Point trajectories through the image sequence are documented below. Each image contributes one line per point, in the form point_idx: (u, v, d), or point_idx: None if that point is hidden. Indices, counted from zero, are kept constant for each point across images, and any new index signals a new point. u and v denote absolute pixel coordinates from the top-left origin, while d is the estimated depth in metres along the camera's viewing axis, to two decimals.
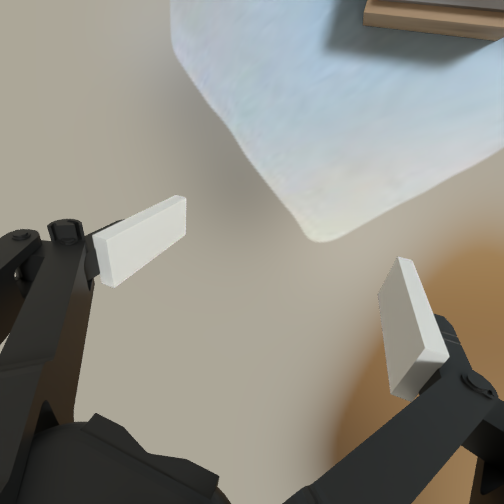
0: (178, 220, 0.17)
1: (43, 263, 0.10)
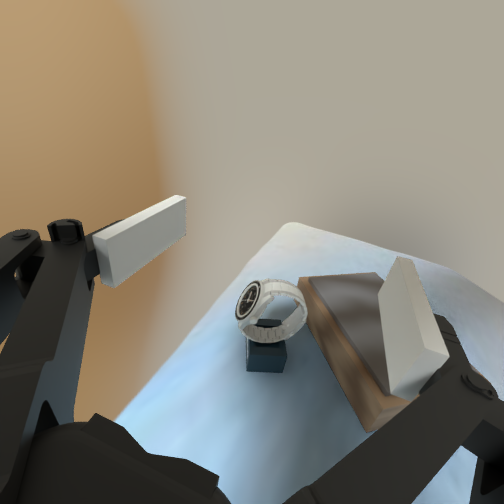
0: (178, 220, 0.17)
1: (43, 263, 0.10)
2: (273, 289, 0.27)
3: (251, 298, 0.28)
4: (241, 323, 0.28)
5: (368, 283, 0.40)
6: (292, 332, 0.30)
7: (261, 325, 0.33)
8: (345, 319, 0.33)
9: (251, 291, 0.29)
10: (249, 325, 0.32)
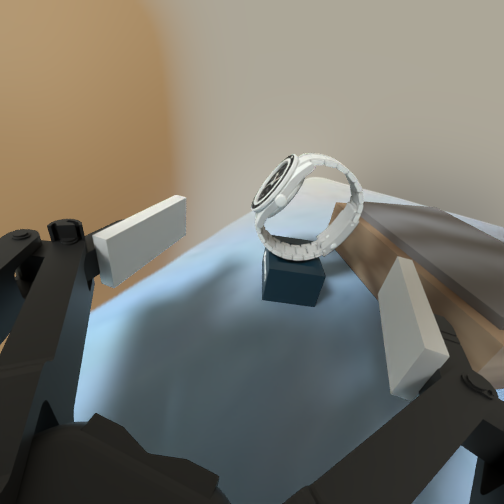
0: (178, 220, 0.17)
1: (43, 263, 0.10)
2: (315, 158, 0.17)
3: (278, 178, 0.19)
4: (260, 214, 0.18)
5: (431, 214, 0.29)
6: (335, 242, 0.20)
7: None
8: (410, 239, 0.22)
9: (277, 173, 0.19)
10: (269, 236, 0.22)
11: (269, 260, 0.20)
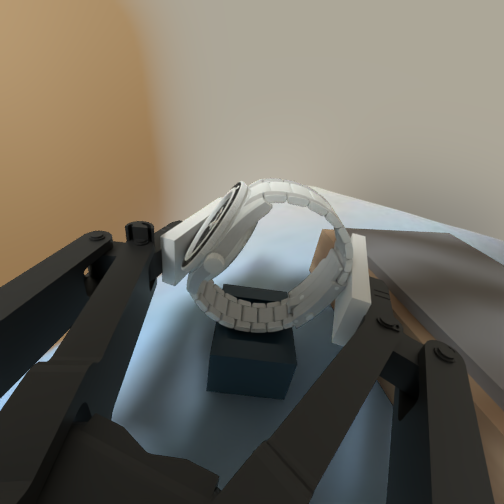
0: None
1: (115, 260, 0.10)
2: (272, 190, 0.11)
3: None
4: (190, 276, 0.12)
5: (444, 245, 0.23)
6: (312, 310, 0.13)
7: (247, 298, 0.17)
8: (421, 296, 0.16)
9: (222, 208, 0.13)
10: (220, 293, 0.15)
11: (214, 336, 0.14)
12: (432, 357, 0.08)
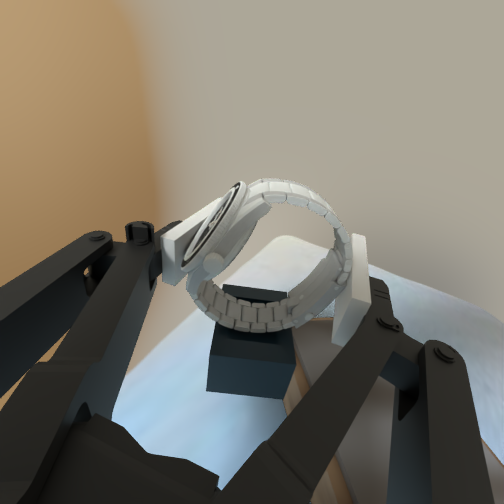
0: None
1: (115, 260, 0.10)
2: (272, 190, 0.11)
3: (218, 219, 0.12)
4: (189, 276, 0.12)
5: None
6: (311, 310, 0.13)
7: (246, 298, 0.17)
8: None
9: (221, 208, 0.13)
10: (219, 293, 0.15)
11: (214, 336, 0.14)
12: (432, 357, 0.08)
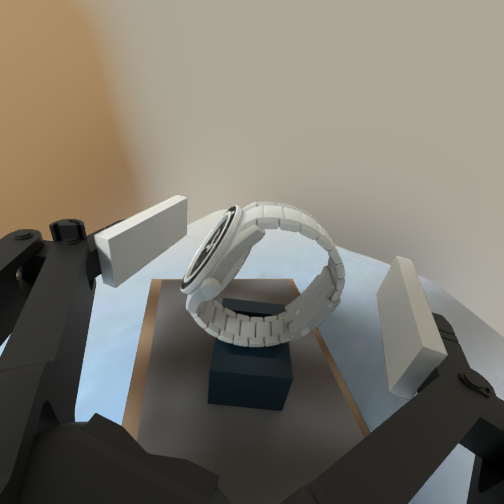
0: (179, 220, 0.17)
1: (45, 263, 0.10)
2: (266, 215, 0.11)
3: (215, 242, 0.12)
4: (189, 297, 0.12)
5: (264, 296, 0.23)
6: (307, 326, 0.14)
7: (245, 312, 0.17)
8: (164, 368, 0.16)
9: (219, 230, 0.13)
10: (219, 309, 0.16)
11: (214, 351, 0.14)
12: None
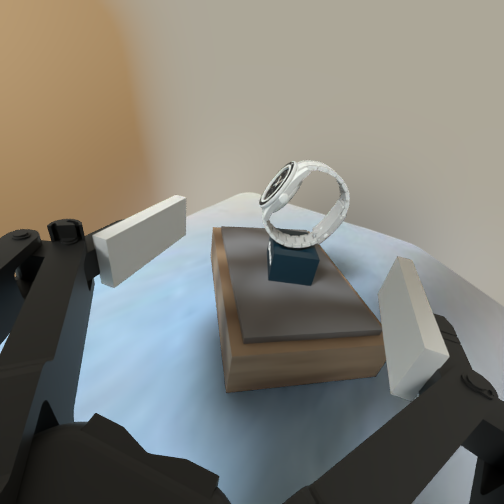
0: (178, 220, 0.17)
1: (43, 263, 0.10)
2: (310, 164, 0.22)
3: (281, 180, 0.23)
4: (267, 209, 0.23)
5: None
6: (327, 232, 0.24)
7: None
8: (238, 265, 0.27)
9: (280, 176, 0.24)
10: (273, 228, 0.26)
11: (274, 247, 0.25)
12: None
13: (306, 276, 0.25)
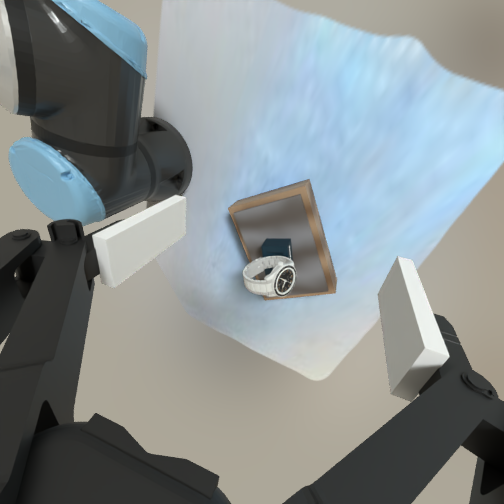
0: (178, 220, 0.17)
1: (43, 263, 0.10)
2: (264, 285, 0.36)
3: (282, 281, 0.37)
4: (290, 264, 0.38)
5: None
6: (255, 261, 0.42)
7: None
8: (309, 248, 0.44)
9: (282, 288, 0.38)
10: None
11: (287, 253, 0.42)
12: None
13: (268, 241, 0.44)
